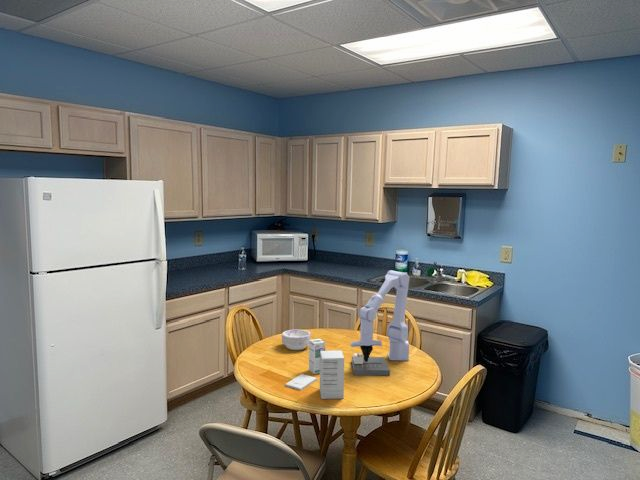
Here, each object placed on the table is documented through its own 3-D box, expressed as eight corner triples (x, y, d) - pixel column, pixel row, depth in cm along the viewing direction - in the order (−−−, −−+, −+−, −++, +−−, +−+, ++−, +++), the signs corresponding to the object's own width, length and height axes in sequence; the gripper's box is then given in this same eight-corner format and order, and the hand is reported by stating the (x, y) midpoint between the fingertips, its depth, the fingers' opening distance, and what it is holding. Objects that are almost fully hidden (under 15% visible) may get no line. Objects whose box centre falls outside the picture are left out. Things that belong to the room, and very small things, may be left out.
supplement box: (344, 399, 177) (344, 358, 175) (320, 399, 176) (321, 358, 174) (340, 388, 186) (341, 349, 185) (319, 388, 186) (319, 350, 184)
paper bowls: (294, 340, 245) (294, 326, 245) (316, 346, 237) (316, 332, 236) (275, 348, 233) (275, 333, 232) (298, 354, 224) (298, 339, 223)
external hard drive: (316, 381, 194) (300, 391, 184) (301, 377, 199) (284, 387, 188) (316, 377, 194) (300, 388, 184) (301, 373, 199) (284, 383, 188)
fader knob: (361, 360, 210) (362, 353, 210) (362, 364, 205) (363, 357, 205) (353, 360, 210) (353, 353, 210) (354, 364, 205) (354, 356, 205)
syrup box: (314, 374, 200) (314, 343, 199) (308, 369, 205) (308, 339, 204) (325, 372, 203) (325, 341, 201) (319, 367, 208) (319, 337, 206)
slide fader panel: (384, 362, 216) (384, 356, 216) (389, 375, 200) (389, 370, 200) (351, 361, 216) (351, 356, 216) (354, 375, 200) (354, 369, 200)
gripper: (379, 329, 212) (378, 357, 213) (349, 330, 209) (348, 358, 210) (383, 334, 205) (382, 362, 206) (353, 335, 202) (352, 364, 204)
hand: (365, 360), depth 208 cm, fingers closed
